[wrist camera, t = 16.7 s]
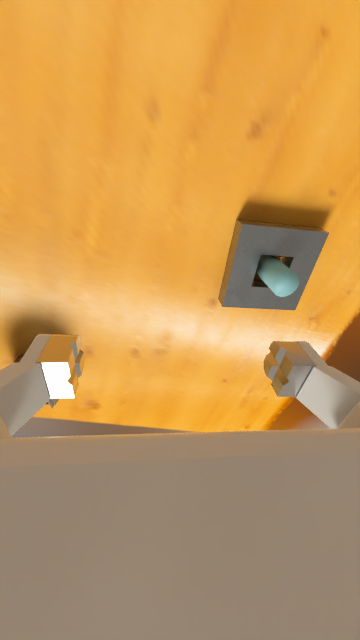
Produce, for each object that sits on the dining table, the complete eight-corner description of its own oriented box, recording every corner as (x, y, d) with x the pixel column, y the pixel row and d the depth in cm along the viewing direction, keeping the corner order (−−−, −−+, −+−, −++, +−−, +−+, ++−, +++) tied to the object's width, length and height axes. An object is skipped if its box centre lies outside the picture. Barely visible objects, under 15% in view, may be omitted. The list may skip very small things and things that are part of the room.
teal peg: (257, 252, 41) (277, 271, 35) (279, 254, 42) (303, 273, 35) (251, 274, 43) (269, 296, 37) (272, 276, 44) (293, 297, 37)
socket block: (236, 219, 38) (242, 224, 35) (317, 227, 40) (329, 232, 37) (218, 298, 45) (222, 306, 43) (287, 302, 48) (295, 310, 45)
